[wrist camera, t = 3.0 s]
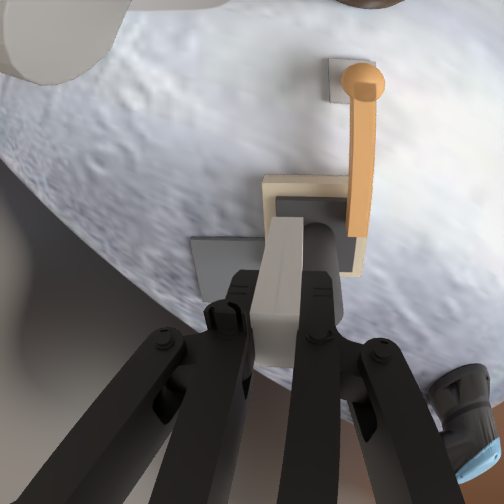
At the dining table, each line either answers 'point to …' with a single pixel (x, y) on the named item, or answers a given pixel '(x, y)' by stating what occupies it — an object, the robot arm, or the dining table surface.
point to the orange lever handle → (361, 142)
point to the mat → (223, 262)
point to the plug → (323, 237)
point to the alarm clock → (56, 37)
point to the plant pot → (370, 3)
